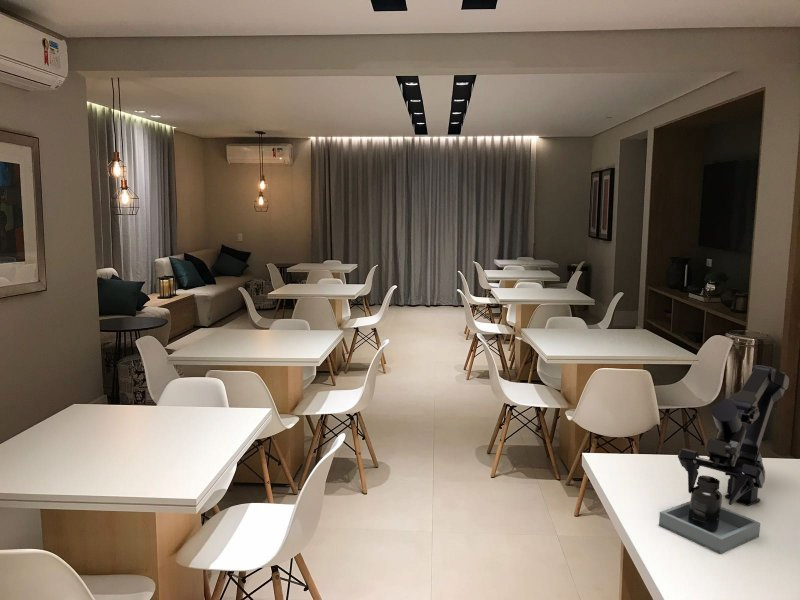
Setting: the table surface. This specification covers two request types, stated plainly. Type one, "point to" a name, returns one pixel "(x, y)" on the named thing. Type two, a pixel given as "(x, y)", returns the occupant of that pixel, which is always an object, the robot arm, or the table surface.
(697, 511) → the supplement bottle
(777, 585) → the table surface
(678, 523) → the box
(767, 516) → the table surface
